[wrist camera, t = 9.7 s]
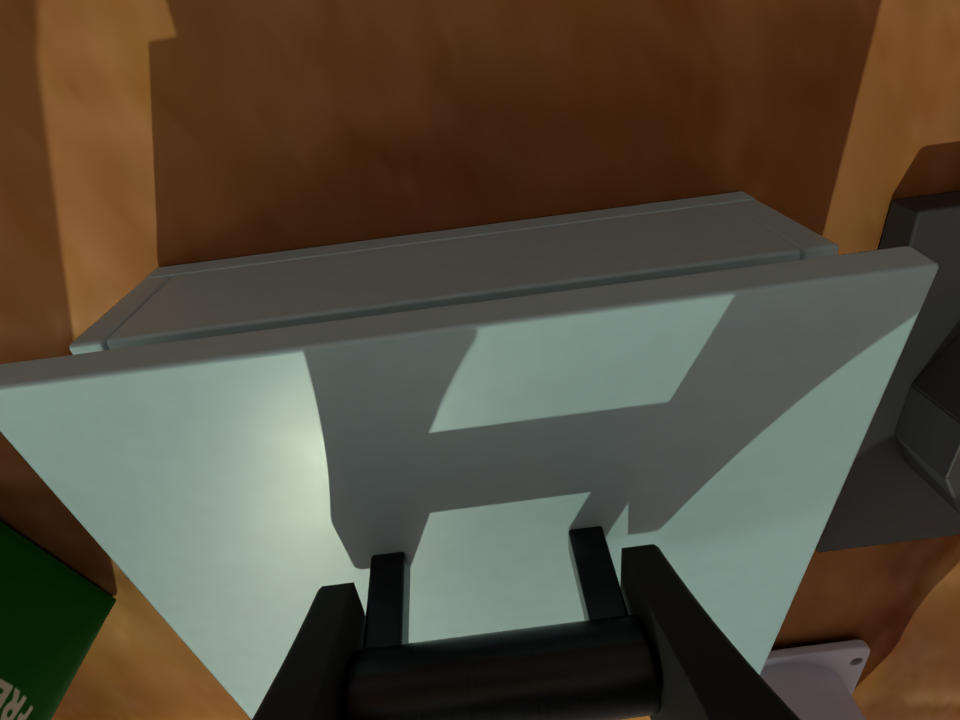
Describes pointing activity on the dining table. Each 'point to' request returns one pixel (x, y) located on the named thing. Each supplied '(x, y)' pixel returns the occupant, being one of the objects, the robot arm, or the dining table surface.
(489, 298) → the box
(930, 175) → the dining table surface
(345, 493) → the freezer lid
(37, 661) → the milk carton
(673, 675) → the robot arm
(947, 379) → the release block
